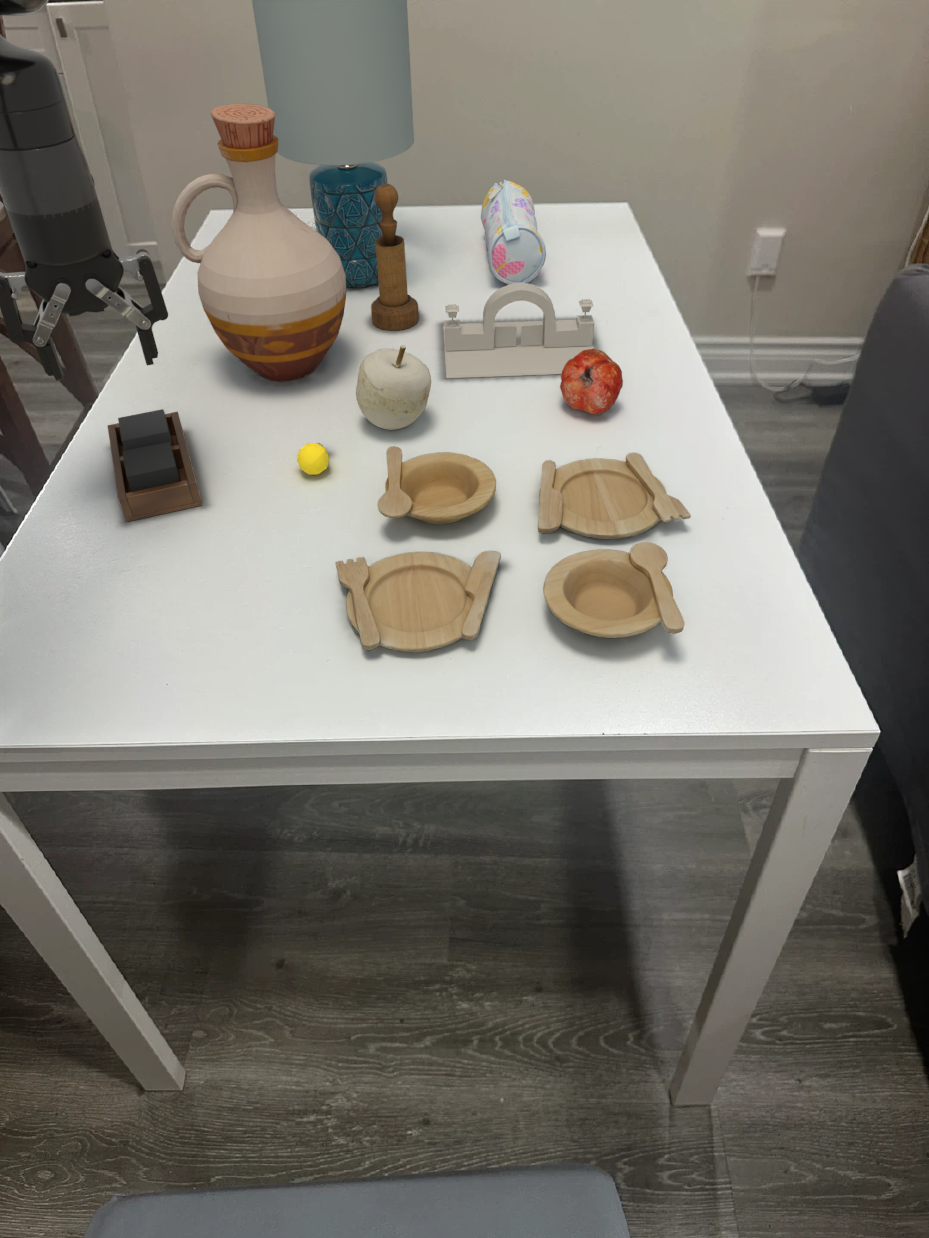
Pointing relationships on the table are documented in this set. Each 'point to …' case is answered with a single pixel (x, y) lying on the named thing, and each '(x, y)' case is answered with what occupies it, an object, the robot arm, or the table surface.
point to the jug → (263, 259)
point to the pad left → (150, 466)
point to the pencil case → (512, 234)
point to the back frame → (160, 496)
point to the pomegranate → (591, 381)
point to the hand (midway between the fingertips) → (105, 369)
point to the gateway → (515, 338)
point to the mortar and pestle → (391, 270)
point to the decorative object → (392, 388)
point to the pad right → (144, 430)
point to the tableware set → (458, 594)
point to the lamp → (340, 109)
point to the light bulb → (313, 458)
